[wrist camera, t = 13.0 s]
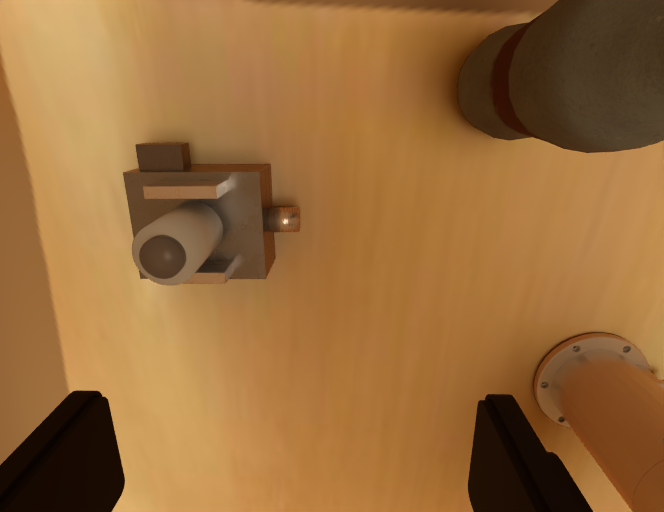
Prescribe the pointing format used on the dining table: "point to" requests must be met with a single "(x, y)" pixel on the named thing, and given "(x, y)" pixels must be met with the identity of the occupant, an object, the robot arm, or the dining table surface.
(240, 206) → the box with side knob
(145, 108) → the dining table surface
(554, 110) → the bottle
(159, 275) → the toy camera lens
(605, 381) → the robot arm
